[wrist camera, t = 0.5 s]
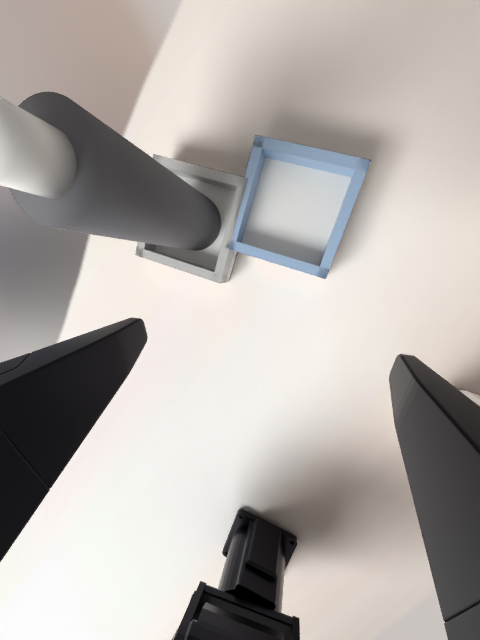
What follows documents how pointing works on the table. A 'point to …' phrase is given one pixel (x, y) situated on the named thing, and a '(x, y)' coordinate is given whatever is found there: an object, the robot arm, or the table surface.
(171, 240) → the gray bottle
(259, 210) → the divided tray
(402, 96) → the table surface
